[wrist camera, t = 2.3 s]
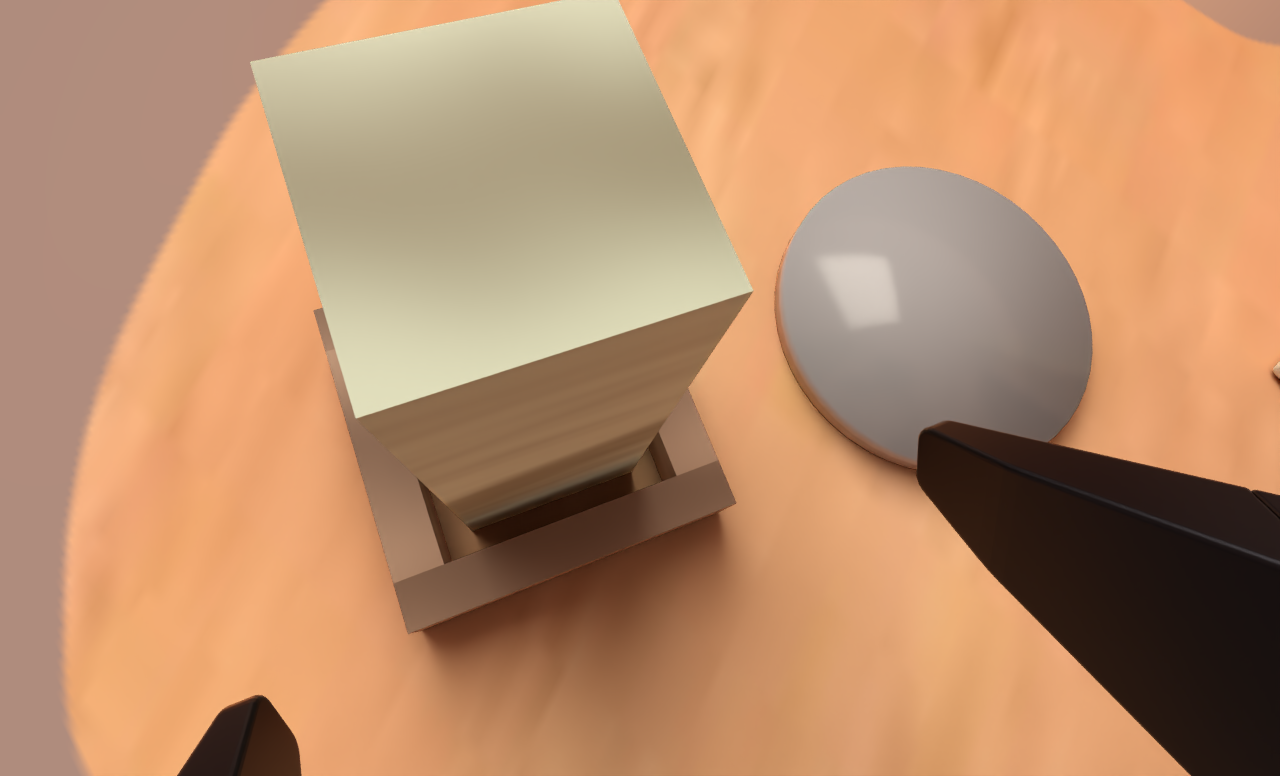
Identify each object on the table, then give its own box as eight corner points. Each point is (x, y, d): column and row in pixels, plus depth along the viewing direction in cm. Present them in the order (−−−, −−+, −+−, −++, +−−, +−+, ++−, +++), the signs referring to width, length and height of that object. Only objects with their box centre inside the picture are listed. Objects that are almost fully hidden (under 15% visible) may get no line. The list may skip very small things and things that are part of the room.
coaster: (1082, 496, 23) (1105, 492, 22) (763, 445, 22) (773, 439, 21) (1060, 212, 26) (1080, 198, 25) (784, 157, 25) (793, 140, 24)
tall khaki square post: (631, 472, 21) (753, 290, 9) (472, 531, 20) (355, 418, 8) (575, 328, 22) (613, -10, 10) (422, 376, 21) (249, 61, 9)
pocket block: (719, 511, 21) (736, 503, 19) (421, 630, 19) (408, 634, 17) (612, 255, 23) (618, 224, 21) (334, 336, 21) (313, 310, 19)
